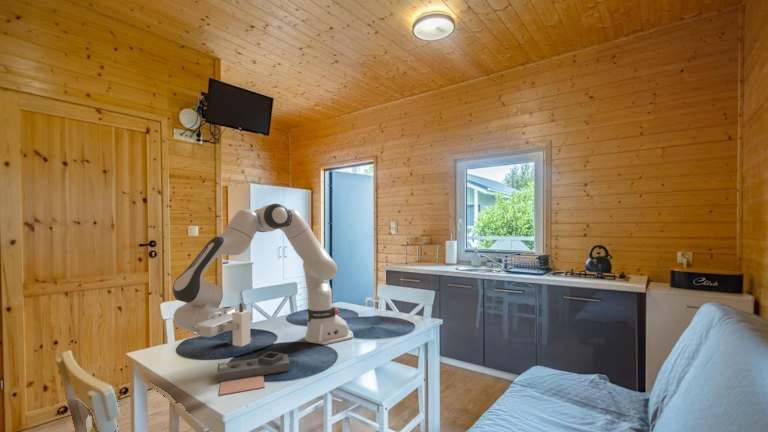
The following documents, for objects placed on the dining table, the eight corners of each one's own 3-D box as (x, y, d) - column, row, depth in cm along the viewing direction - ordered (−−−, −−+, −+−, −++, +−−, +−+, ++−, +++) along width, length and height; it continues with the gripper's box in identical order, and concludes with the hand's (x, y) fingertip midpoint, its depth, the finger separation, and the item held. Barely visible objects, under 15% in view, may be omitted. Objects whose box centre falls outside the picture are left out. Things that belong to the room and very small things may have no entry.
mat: (263, 376, 132) (263, 375, 132) (264, 387, 123) (264, 386, 123) (221, 383, 127) (221, 382, 127) (219, 395, 118) (219, 394, 118)
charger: (241, 341, 127) (240, 301, 127) (250, 342, 126) (249, 302, 126) (232, 345, 124) (232, 303, 123) (241, 346, 122) (241, 304, 122)
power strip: (287, 361, 145) (287, 348, 145) (289, 370, 136) (289, 357, 136) (218, 371, 136) (218, 358, 136) (216, 382, 127) (216, 368, 127)
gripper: (187, 320, 120) (219, 324, 115) (234, 305, 139) (263, 308, 134) (187, 339, 120) (219, 344, 115) (234, 321, 139) (263, 325, 134)
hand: (243, 325), depth 124 cm, fingers closed on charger, 4 cm apart
